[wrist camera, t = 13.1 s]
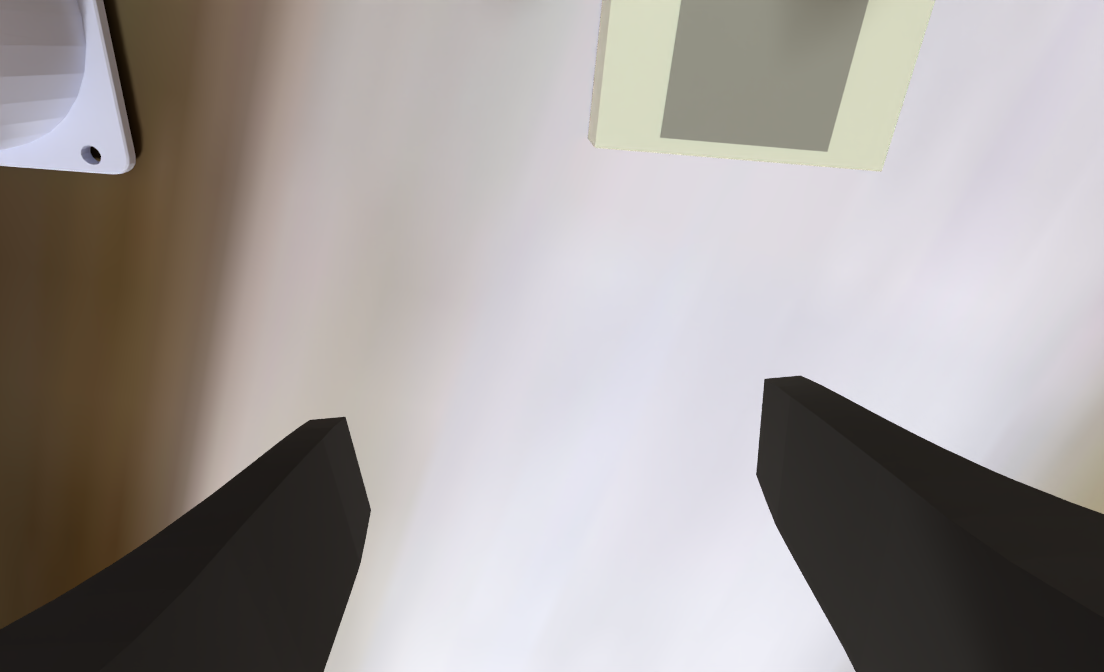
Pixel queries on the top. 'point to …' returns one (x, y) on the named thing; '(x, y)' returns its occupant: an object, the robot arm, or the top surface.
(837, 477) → the robot arm
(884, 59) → the outlet plate
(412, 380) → the top surface
